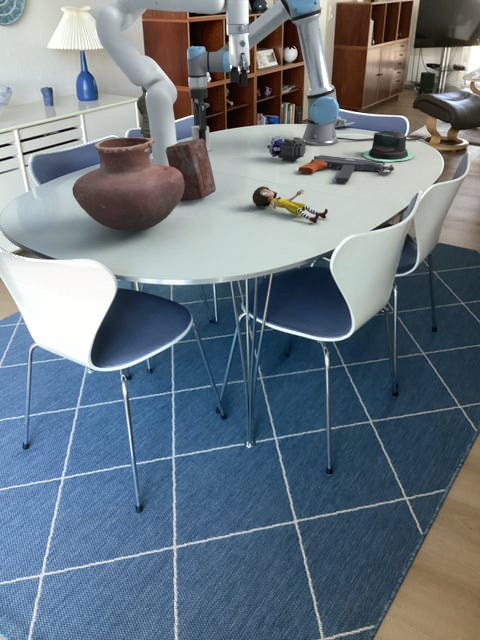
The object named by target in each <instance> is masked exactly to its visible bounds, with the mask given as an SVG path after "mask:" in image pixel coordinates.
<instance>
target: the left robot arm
mask: <svg viewBox="0 0 480 640" xmlns="http://www.w3.org/2000/svg"><path fill="white" fill-rule="evenodd" d="M249 3H250V2H249V0H117V1H116V2H115V3H108V4H105V5H103V6H102V7H101V8H100V9H99V11H97V14H96V17H95V22H94V30H95V35H96V38H97V40H98V42H99V44H100V45H101V47H102V49H103V50H105V52H106V54H107V55H108V56H109V57H110V58H111V59H112V61H113V62H114V63H115V65H116V66H117V67H118V68H119V69H120V71H121V72H122V73H123V74H124V75H125V77H126V78H127V79H128V81H130V83H131V84H133V85H134V86H136V87H141V86H143V87H144V88H145V89H146V90H147V93H146V107H147V112H148V118H149V126H150V135H151V139H153V140H154V143H153V144H152V151H151V155H152V158H151V157H150V160H151V162H152V163H154V164H158V165H164V166H169V163H168V159H167V155H166V148H167V147H170V146H172V145H175V144H177V143H178V141H177V129H176V118H175V112H174V104H175V102H176V101H177V98H178V90H177V88H176V86H175V84H174V83H173V81H172V80H171V79H170V78H169V76H168V75H167V74H166V73H165V72H164V71H163V69H162V67H160V65H158V63H157V62H156V61H155V60H154V59H153V58H152V57H150V56H148V55H145V54H143V55H141V54H140V52H138V50H137V49H136V48H135V46H134V45H133V44H132V43H131V41H129V39H128V38H126V37H125V36H124V34H123V32H122V31H125V30H127V29H129V28H130V27H131V26H132V25H133V24H134V23H135V22H137V20H138V19H139V18H140V17H141V16H142V15H143V14H144V13H145V12H146V11H147V10H150V11H151V10H153V11H162V12H163V11H164V12H173V13H180V12H183V13H194V14H195V13H196V14H205V15H216V14H221V13H225V17H226V18H225V21H226V22H225V23H226V36H228V43H229V63H230V72H229V81H230V84H238V85H237V86H238V87H239V88H240V87H241V88H242V87H247V86H249V84H248V82H249V81H248V77H249V75H248V74H249V73H248V72H249V71H248V68H249V67H250V65H251V61H250V60H251V59H250V50H249V42H248V35H249V25H250V20H249V19H250V15H249V14H250V13H249V12H250V11H249V10H250V9H249V6H250V5H249Z"/></svg>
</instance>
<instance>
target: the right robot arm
mask: <svg viewBox="0 0 480 640" xmlns="http://www.w3.org/2000/svg"><path fill="white" fill-rule="evenodd" d="M321 15H322V8H321V3H320V0H277V1H276V2H275V3H274V4H273V5H272V6H271V7H269V8H268V9H267V10H266V11H264V12H263V13H262V14H261V15H259V16H258V17H257V18H256V19H255V20H254V21H253V22H251V23H249V35H248V42H249V51H250V50H252V48H254V47H255V46H256V45H258V44H259V43H260V42H261V41H263V40H264V39H265V38H266V37H268V36H269V35H270V34H271V33H272V32H274V31H275V30H276V29H278V28H279V27H280V26H282V24H284V23H285V22H286V21H288V20H291V23H292V24H294V25H295V26H296V28H297V29H296V30H297V34H298V40H299V45H300V49H301V54H302V59H303V64H304V69H305V75H306V81H307V85H308V90H307V92H306V99H307V121H306V127H305V130H304V133H303V136H302V142H304V145H311V146H330V145H334V144H336V143H337V141H338V140H342V141H354V142H362V141H373V138H374V137H371V138H370V137H369V138H350V137H349V138H347V137H338V136H337V133H336V129H335V128H334V121H335V119H336V118H337V116H339V113H340V105H339V103H338V100H337V93H336V88H335V86H334V85H333V84H332V83H331V82H330V76H329V71H328V65H327V60H326V54H325V48H324V44H323V43H324V42H323V38H322V31H321V26H320V21H319V18H320V17H321ZM186 52H187V53H186V56H187V57H186V58H187V59H186V61H187V63H186V64H187V76H188V88H189V90H188V93H189V98H190V99H191V100H194V101H192V112H193V126H199V130H198V132H199V139H204V140H205V143H206V130H207V126H208V124H207V106H206V105H205V102H204V99H207V98H208V88H207V87H208V81H209V79H208V78H207V77H208V76H207V73H230V63H229V42H228V43H226V44H225V45H224V46H222V47H221V48H219V49H218V50H217V51H211V52H210V51H207V50H206V47H205V46H199V45H198V46H189V47H188V48H187V50H186ZM417 140H423V141H427V139H426V138H425V137H424V136H418V137H415V138H406V142H407V141H409V142H410V141H417Z"/></svg>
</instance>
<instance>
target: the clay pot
mask: <svg viewBox="0 0 480 640" xmlns="http://www.w3.org/2000/svg"><path fill="white" fill-rule="evenodd" d="M153 143H154V140H153V139H151V138H144V137H142V136H141V137H140V136H131V137H124V136H123V137H122V136H121V137H112V138H107V139H102V140H99V141H98V142H96V143H95V144H94V147H93V148H94V150H96V151H97V153H98V156H99V168H96V169H93V170H90V171H87V172H86V173H85V174H83V175H81V176H80V177H79V178H77V179H76V181H75V182H74V184H73V186H72V195H73V197H74V199H75V201H76V202H77V204H78V205H79V206H80V207H81V209H82V210H83V211H84V212H85V213H86V214H87V215H88V216H89V217H90V218H91V219H93V220H94V222H97V223H99V224H100V225H102V226H104V227H105V228H107V229H110V230H115V231H119V232H121V231H122V232H130V231H141V230H147V229H151V228H154V227H155V226H157V225H159V224H160V223H162V222H163V221H164V220H166V219H167V218H168V217H169V216H170V215H171V213H173V211H174V210H175V208H176V207H177V206H178V204H179V203H180V202H181V201H180V200H181V198H182V196H183V193H184V188H185V184H184V178H183V175H182V173H181V172H180V171H179V170H177V169H176V168H174V167H170V166H164V165H158V164H154V163H152V162H151V160H150V158H151V151H150V148H151V146H152V144H153Z"/></svg>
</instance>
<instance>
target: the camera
mask: <svg viewBox="0 0 480 640" xmlns="http://www.w3.org/2000/svg"><path fill="white" fill-rule="evenodd" d="M353 124H355V121H351V122H347V119H345V118H342V117H341V116H340V115H338V116H337V118H336V119H335V121H334V128H341V127H342V128H343V127H347V126H350V125H353Z"/></svg>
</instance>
